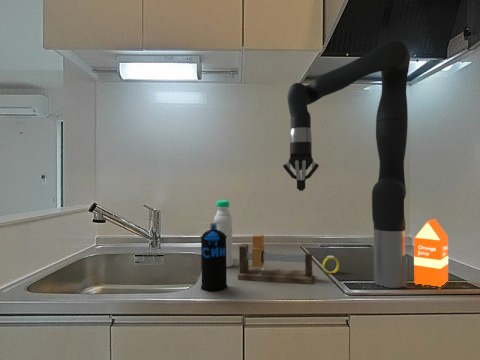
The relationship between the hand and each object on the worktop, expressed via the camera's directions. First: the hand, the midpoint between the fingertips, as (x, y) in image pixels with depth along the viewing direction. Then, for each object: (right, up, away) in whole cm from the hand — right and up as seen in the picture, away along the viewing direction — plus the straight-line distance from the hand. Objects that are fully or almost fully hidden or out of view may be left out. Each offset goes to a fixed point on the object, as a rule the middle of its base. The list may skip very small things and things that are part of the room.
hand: (301, 190), depth 132 cm
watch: (+10, -29, 0) cm, 31 cm away
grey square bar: (-9, -24, -6) cm, 26 cm away
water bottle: (-28, -29, +12) cm, 42 cm away
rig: (-9, -29, -5) cm, 31 cm away
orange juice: (+39, -29, -13) cm, 50 cm away
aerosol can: (-30, -30, -16) cm, 45 cm away
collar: (-15, -25, -4) cm, 30 cm away
